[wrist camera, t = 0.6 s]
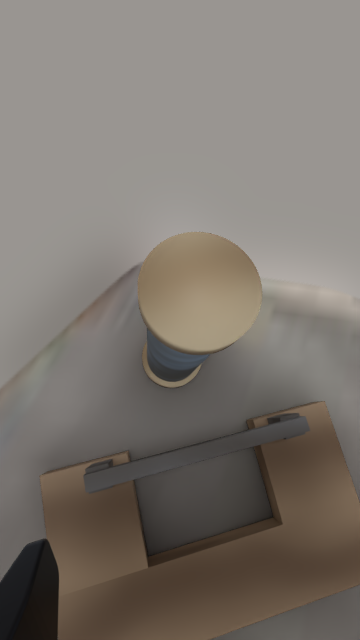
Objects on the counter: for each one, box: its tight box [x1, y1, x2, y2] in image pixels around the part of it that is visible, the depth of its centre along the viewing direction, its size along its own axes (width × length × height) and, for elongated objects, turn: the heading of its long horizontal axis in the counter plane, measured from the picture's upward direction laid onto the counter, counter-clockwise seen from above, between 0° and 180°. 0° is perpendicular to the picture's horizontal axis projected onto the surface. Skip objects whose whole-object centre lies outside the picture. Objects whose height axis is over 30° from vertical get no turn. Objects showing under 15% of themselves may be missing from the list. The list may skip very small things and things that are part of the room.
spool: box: [138, 232, 262, 388], centre depth 17 cm, size 4×4×13 cm
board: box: [40, 401, 360, 640], centre depth 18 cm, size 10×18×4 cm, turn 103°
